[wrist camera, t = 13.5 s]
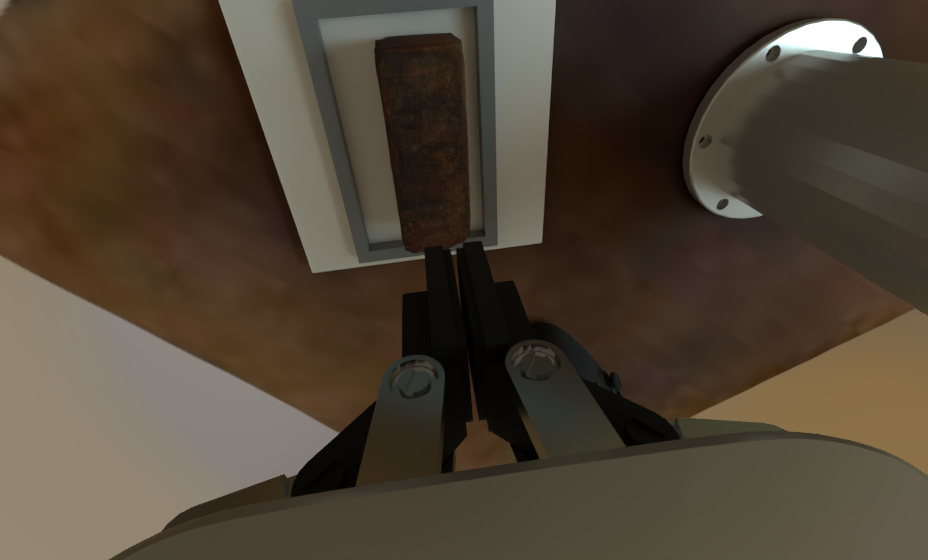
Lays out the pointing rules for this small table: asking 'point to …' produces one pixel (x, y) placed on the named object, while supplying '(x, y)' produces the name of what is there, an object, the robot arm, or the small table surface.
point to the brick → (426, 136)
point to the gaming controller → (578, 357)
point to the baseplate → (363, 126)
